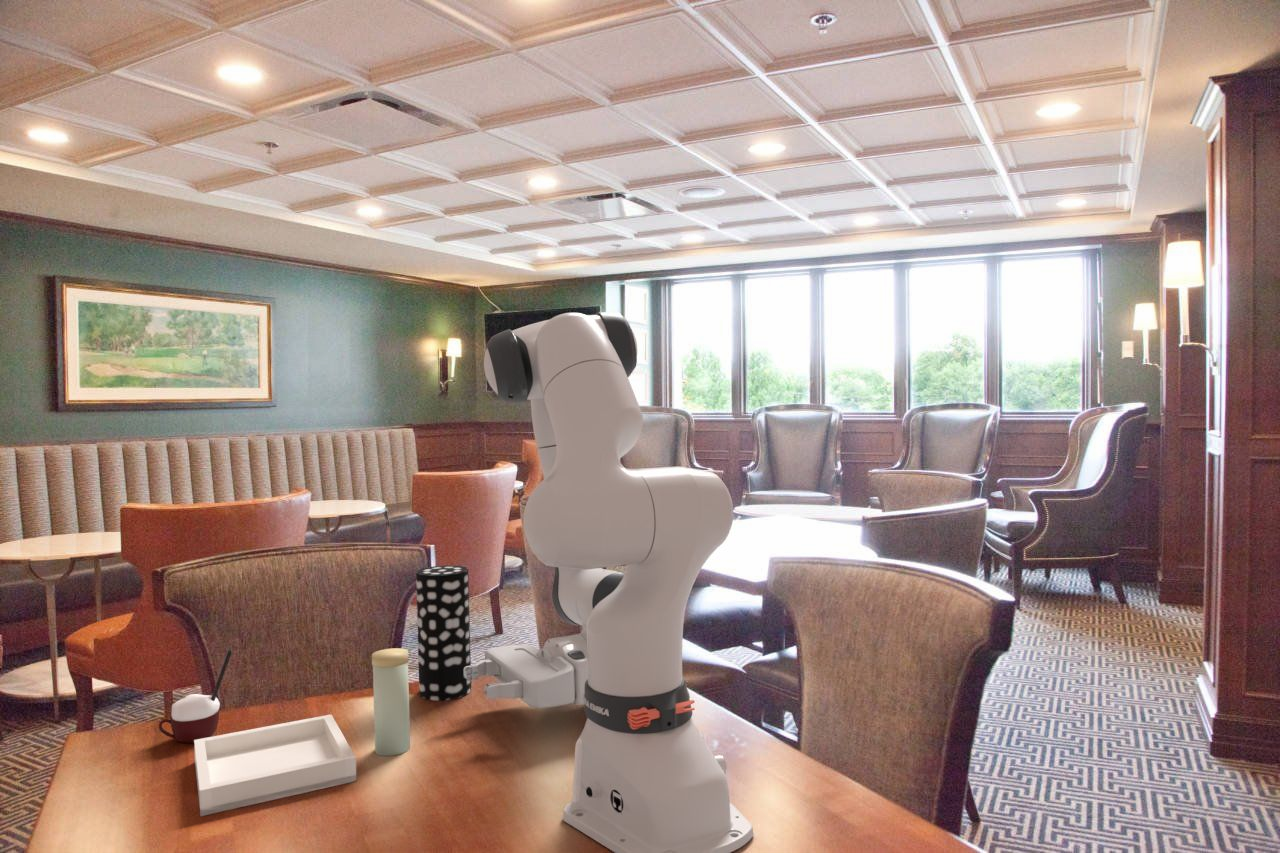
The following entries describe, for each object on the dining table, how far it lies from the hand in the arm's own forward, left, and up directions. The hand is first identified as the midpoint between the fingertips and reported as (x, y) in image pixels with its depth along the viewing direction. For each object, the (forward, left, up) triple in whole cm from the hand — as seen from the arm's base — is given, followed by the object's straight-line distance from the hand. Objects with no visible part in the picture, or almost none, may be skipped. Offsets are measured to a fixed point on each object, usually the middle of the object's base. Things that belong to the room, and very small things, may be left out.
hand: (475, 682), depth 122 cm
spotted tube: (+19, -1, -7) cm, 20 cm away
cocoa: (+19, +35, -7) cm, 40 cm away
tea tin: (0, +12, -7) cm, 14 cm away
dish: (+1, +27, -7) cm, 28 cm away
